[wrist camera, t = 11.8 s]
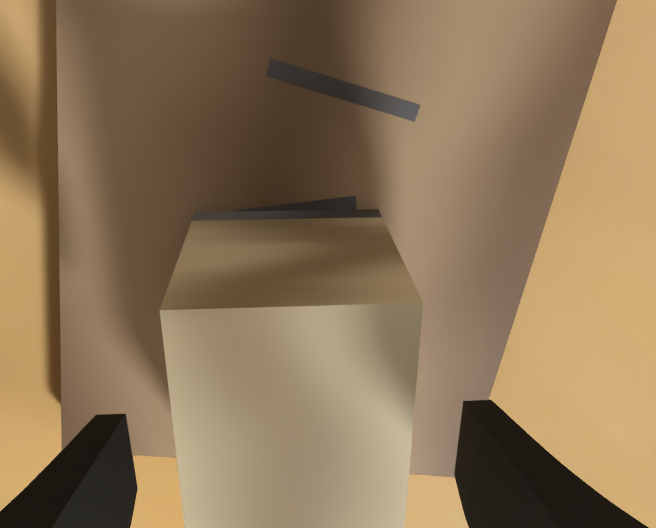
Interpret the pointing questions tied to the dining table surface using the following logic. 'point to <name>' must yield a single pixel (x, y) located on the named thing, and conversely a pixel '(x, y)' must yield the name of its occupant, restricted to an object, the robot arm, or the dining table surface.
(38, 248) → the dining table surface
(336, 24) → the plank
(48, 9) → the dining table surface
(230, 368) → the block
